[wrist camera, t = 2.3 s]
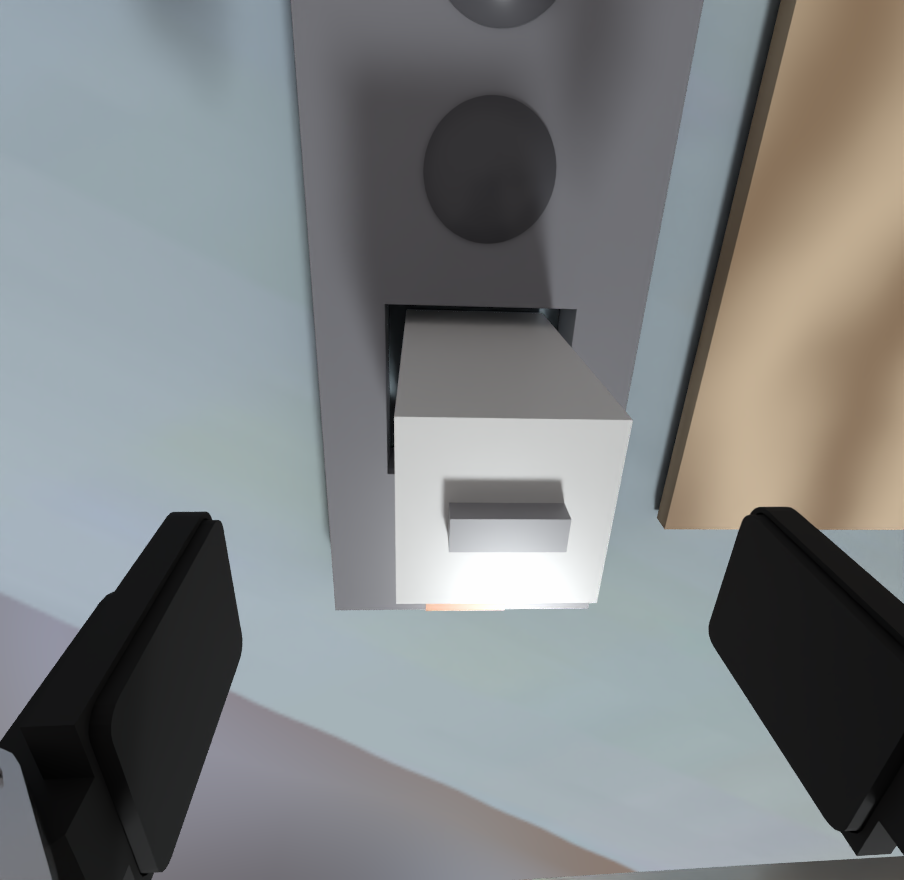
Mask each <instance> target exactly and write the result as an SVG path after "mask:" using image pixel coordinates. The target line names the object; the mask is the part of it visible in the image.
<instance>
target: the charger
mask: <svg viewBox="0 0 904 880" xmlns="http://www.w3.org/2000/svg"><path fill="white" fill-rule="evenodd" d="M632 422H633V420H632V419H631V417H630V416H629V415H628V414H627V413H626V411H625V410H624V409H623V408H622V407H621V406H620V404H619V403H618V402H617V401H616V400H615V398H614V397H613V396H612V395H611V394H610V393H609V391H608V390H607V389H606V388H605V387H604V385H603V384H602V383H601V382H600V381H599V380H598V378H597V377H596V376H595V375H594V374H593V372H592V371H591V370H590V369H589V368H588V367H587V365H586V364H585V363H584V362H583V361H582V359H581V358H580V357H579V356H578V355H577V354H576V352H575V351H574V350H573V349H572V348H571V346H570V345H569V344H568V343H567V342H566V341H565V339H564V338H563V337H562V336H561V335H560V333H559V332H558V331H557V330H556V329H555V328H554V326H553V325H552V324H551V323H550V322H549V320H548V319H547V318H546V317H545V316H544V315H543V313H530V312H491V311H453V310H415V309H407V310H406V319H405V327H404V336H403V345H402V353H401V362H400V371H399V379H398V388H397V397H396V405H395V414H394V450H395V548H396V604H479V603H597V599H598V594H599V589H600V584H601V579H602V573H603V568H604V563H605V558H606V553H607V548H608V543H609V538H610V533H611V528H612V523H613V518H614V513H615V508H616V503H617V498H618V493H619V488H620V483H621V478H622V472H623V467H624V462H625V457H626V452H627V447H628V442H629V437H630V432H631V427H632Z"/></svg>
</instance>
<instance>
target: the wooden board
mask: <svg viewBox="0 0 904 880" xmlns="http://www.w3.org/2000/svg"><path fill="white" fill-rule="evenodd" d="M757 507H791V508H793V509H795V510H796V511H797V512H799V513H800V514H801V515H802V516H803V517H804V518H806V519H807V520H808V521H809V522H810V523H811V524H812V525H814V526H815V527H816V528H817V529H818V530H904V0H781V2H780V6H779V11H778V15H777V19H776V23H775V27H774V31H773V36H772V40H771V44H770V48H769V52H768V56H767V61H766V65H765V69H764V73H763V77H762V81H761V86H760V90H759V94H758V98H757V102H756V107H755V111H754V115H753V119H752V123H751V127H750V132H749V136H748V140H747V144H746V148H745V152H744V157H743V161H742V165H741V169H740V173H739V177H738V182H737V186H736V190H735V194H734V198H733V202H732V207H731V211H730V215H729V219H728V223H727V228H726V232H725V236H724V240H723V244H722V248H721V253H720V257H719V261H718V265H717V269H716V273H715V278H714V282H713V286H712V290H711V294H710V298H709V303H708V307H707V311H706V315H705V319H704V324H703V328H702V332H701V336H700V340H699V344H698V349H697V353H696V357H695V361H694V365H693V369H692V374H691V378H690V382H689V386H688V390H687V394H686V399H685V403H684V407H683V411H682V415H681V420H680V424H679V428H678V432H677V436H676V440H675V445H674V449H673V453H672V457H671V461H670V465H669V470H668V474H667V478H666V482H665V486H664V490H663V495H662V499H661V503H660V507H659V511H658V516H657V519H658V520H659V522H660V523H661V525H662V526H663V527H664V529H739V528H740V525H741V522H742V520H743V518H744V517H745V516H747V515H750V513H751V512H752V511H753V510H754V509H755V508H757Z"/></svg>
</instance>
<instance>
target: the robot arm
mask: <svg viewBox="0 0 904 880" xmlns="http://www.w3.org/2000/svg"><path fill="white" fill-rule="evenodd" d="M709 637H710V640H711V642H712V644H713V646H714V648H715V649H716V651H717V652H718V654H719V655H720V657H721V659H722V660H723V662H724V663H725V665H726V666H727V668H728V669H729V671H730V673H731V674H732V676H733V677H734V679H735V680H736V682H737V683H738V685H739V686H740V688H741V690H742V691H743V693H744V694H745V696H746V697H747V699H748V700H749V702H750V703H751V705H752V707H753V708H754V710H755V711H756V713H757V714H758V716H759V717H760V719H761V721H762V722H763V724H764V725H765V727H766V728H767V730H768V731H769V733H770V734H771V736H772V738H773V739H774V741H775V742H776V744H777V745H778V747H779V748H780V750H781V752H782V753H783V755H784V756H785V758H786V759H787V761H788V762H789V764H790V765H791V767H792V769H793V770H794V772H795V773H796V775H797V776H798V778H799V779H800V781H801V782H802V784H803V786H804V787H805V789H806V790H807V792H808V793H809V795H810V796H811V798H812V800H813V801H814V803H815V804H816V806H817V807H818V809H819V810H820V812H821V813H822V815H823V817H824V818H825V819H826V821H827V822H828V823H829V825H830V826H832V827H833V828H834V829H835V830H838V831H841V833H842V834H843V836H844V837H845V839H846V840H847V842H848V843H849V845H850V847H851V848H852V850H853V851H854V853H855V854H856V856H863V855H879V854H891V853H892V851H893V850H894V848H895V847H896V846H898V848H899V849H900V851H901V852H902V853H903V855H904V604H903V603H902V602H901V601H900V600H899V599H898V598H896V597H895V596H894V595H893V594H892V593H891V592H889V591H888V590H887V589H886V588H885V587H884V586H883V585H881V584H880V583H879V582H878V581H877V580H876V579H875V578H873V577H872V576H871V575H870V574H869V573H868V572H866V571H865V570H864V569H863V568H862V567H861V566H860V565H858V564H857V563H856V562H855V561H854V560H853V559H852V558H850V557H849V556H848V555H847V554H846V553H845V552H843V551H842V550H841V549H840V548H839V547H838V546H837V545H835V544H834V543H833V542H832V541H831V540H830V539H829V538H827V537H826V536H825V535H824V534H823V533H822V532H820V531H819V530H818V529H817V528H816V527H815V526H814V525H812V524H811V523H810V522H809V521H808V520H807V519H806V518H804V517H803V516H802V515H801V514H800V513H799V512H797V511H796V510H795V509H793V508H791V507H757V508H755V509H754V510H753V511H752V512H751V513H750V515H747V516H745V517H744V518H743V520H742V522H741V525H740V528H739V532H738V535H737V538H736V541H735V544H734V547H733V550H732V554H731V557H730V560H729V563H728V566H727V569H726V572H725V575H724V579H723V582H722V585H721V588H720V591H719V594H718V597H717V601H716V604H715V607H714V610H713V613H712V616H711V619H710V622H709ZM241 652H242V633H241V627H240V622H239V616H238V610H237V604H236V599H235V593H234V587H233V581H232V576H231V570H230V564H229V559H228V553H227V547H226V541H225V536H224V530H223V526H222V523H221V521H219V520H212V518H211V516H210V514H209V513H208V512H172V513H170V514H169V515H168V516H167V517H166V519H165V520H164V522H163V523H162V525H161V526H160V527H159V529H158V530H157V532H156V533H155V535H154V536H153V537H152V539H151V540H150V542H149V543H148V545H147V546H146V547H145V549H144V550H143V552H142V553H141V555H140V556H139V557H138V559H137V560H136V562H135V563H134V564H133V566H132V567H131V569H130V570H129V572H128V573H127V574H126V576H125V577H124V579H123V580H122V582H121V583H120V584H119V586H118V587H117V589H116V590H115V592H112V593H110V594H108V595H106V596H105V598H104V599H103V600H102V601H101V602H100V603H99V604H98V606H97V607H96V609H95V610H94V611H93V613H92V614H91V616H90V617H89V618H88V620H87V621H86V623H85V624H84V625H83V627H82V628H81V630H80V631H79V632H78V634H77V635H76V637H75V638H74V639H73V641H72V642H71V644H70V645H69V646H68V648H67V649H66V650H65V652H64V653H63V655H62V656H61V657H60V659H59V660H58V662H57V663H56V664H55V666H54V667H53V669H52V670H51V671H50V673H49V674H48V676H47V677H46V678H45V680H44V681H43V683H42V684H41V686H40V687H39V688H38V690H37V691H36V692H35V694H34V695H33V696H32V698H31V699H30V701H29V702H28V703H27V705H26V706H25V708H24V709H23V711H22V712H21V713H20V715H19V716H18V717H17V719H16V720H15V722H14V723H13V725H12V726H11V727H10V729H9V730H8V731H7V733H6V734H5V736H4V737H3V739H2V740H1V741H0V880H151V879H152V876H153V874H154V872H163V871H164V870H165V869H166V867H167V866H168V864H169V861H170V859H171V857H172V854H173V851H174V848H175V845H176V842H177V839H178V837H179V834H180V831H181V828H182V825H183V822H184V819H185V816H186V814H187V811H188V808H189V805H190V802H191V799H192V796H193V793H194V790H195V788H196V784H197V782H198V779H199V776H200V773H201V770H202V767H203V764H204V761H205V759H206V756H207V753H208V750H209V747H210V744H211V741H212V738H213V735H214V733H215V730H216V727H217V724H218V721H219V718H220V715H221V712H222V709H223V706H224V704H225V701H226V698H227V695H228V692H229V689H230V686H231V683H232V680H233V678H234V675H235V672H236V669H237V666H238V663H239V660H240V657H241ZM525 880H904V856H898V857H881V858H864V859H847V860H830V861H812V862H795V863H778V864H761V865H744V866H728V867H712V868H696V869H680V870H664V871H649V872H633V873H617V874H603V875H587V876H572V877H556V878H540V879H525Z"/></svg>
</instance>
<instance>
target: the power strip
mask: <svg viewBox="0 0 904 880" xmlns="http://www.w3.org/2000/svg"><path fill="white" fill-rule="evenodd" d="M703 1H704V0H291V12H292V26H293V39H294V53H295V66H296V80H297V93H298V107H299V121H300V134H301V148H302V161H303V175H304V188H305V202H306V216H307V229H308V243H309V256H310V270H311V283H312V297H313V311H314V324H315V338H316V351H317V365H318V378H319V392H320V406H321V419H322V433H323V446H324V460H325V473H326V487H327V501H328V514H329V528H330V541H331V555H332V568H333V582H334V596H335V609H336V610H426V611H475V610H504V609H587V608H588V606H589V603H479V604H396V548H395V450H394V448H390V377H389V304H402V305H440V306H478V307H515V308H553V309H560V315H559V323H558V332H559V333H560V335H561V336H562V337H563V338H564V339H565V341H566V342H567V343H568V344H569V345H570V346H571V348H572V349H573V350H574V351H575V352H576V354H577V355H578V356H579V357H580V358H581V359H582V361H583V362H584V363H585V364H586V365H587V367H588V368H589V369H590V370H591V371H592V372H593V374H594V375H595V376H596V377H597V378H598V380H599V381H600V382H601V383H602V384H603V385H604V387H605V388H606V389H607V390H608V391H609V393H610V394H611V395H612V396H613V397H614V398H615V400H616V401H617V402H618V403H619V404H620V406H621V407H622V408H623V409H624V410H625V411H626V406H627V401H628V395H629V390H630V385H631V380H632V374H633V369H634V364H635V359H636V353H637V348H638V343H639V338H640V332H641V327H642V322H643V317H644V311H645V306H646V301H647V296H648V290H649V285H650V280H651V275H652V269H653V264H654V259H655V254H656V248H657V243H658V238H659V233H660V227H661V222H662V217H663V212H664V206H665V201H666V196H667V190H668V185H669V180H670V175H671V169H672V164H673V159H674V154H675V148H676V143H677V138H678V133H679V127H680V122H681V117H682V112H683V106H684V101H685V96H686V91H687V85H688V80H689V75H690V70H691V64H692V59H693V54H694V49H695V43H696V38H697V33H698V28H699V22H700V17H701V12H702V7H703Z"/></svg>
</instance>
